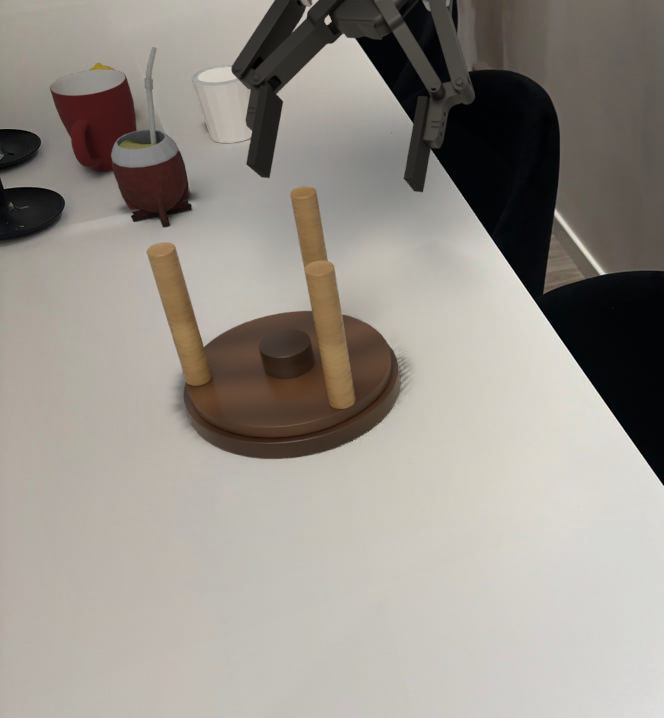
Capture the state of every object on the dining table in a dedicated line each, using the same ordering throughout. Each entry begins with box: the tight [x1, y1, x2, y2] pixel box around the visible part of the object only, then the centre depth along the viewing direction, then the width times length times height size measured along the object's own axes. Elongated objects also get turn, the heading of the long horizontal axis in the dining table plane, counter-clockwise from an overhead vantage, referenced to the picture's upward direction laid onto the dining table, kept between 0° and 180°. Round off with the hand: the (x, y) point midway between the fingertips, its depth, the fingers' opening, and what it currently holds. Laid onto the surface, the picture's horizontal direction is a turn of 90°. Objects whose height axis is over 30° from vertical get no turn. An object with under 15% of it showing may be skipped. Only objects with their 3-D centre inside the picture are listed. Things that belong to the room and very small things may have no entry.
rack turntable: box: [146, 185, 392, 438], centre depth 72 cm, size 16×16×12 cm
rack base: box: [183, 342, 401, 460], centre depth 77 cm, size 17×17×2 cm
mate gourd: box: [111, 46, 193, 228], centre depth 97 cm, size 8×8×15 cm
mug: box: [49, 69, 138, 172], centre depth 106 cm, size 10×8×10 cm
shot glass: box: [191, 64, 252, 144], centre depth 115 cm, size 7×7×7 cm
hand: (334, 178), depth 78 cm, fingers open, 13 cm apart
